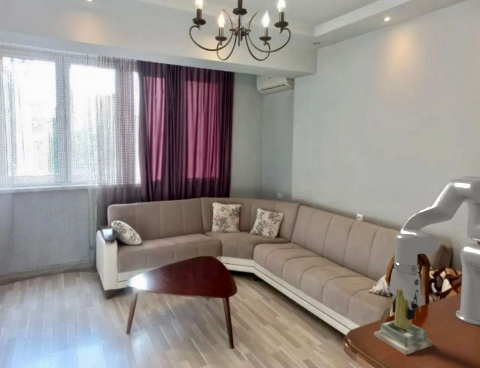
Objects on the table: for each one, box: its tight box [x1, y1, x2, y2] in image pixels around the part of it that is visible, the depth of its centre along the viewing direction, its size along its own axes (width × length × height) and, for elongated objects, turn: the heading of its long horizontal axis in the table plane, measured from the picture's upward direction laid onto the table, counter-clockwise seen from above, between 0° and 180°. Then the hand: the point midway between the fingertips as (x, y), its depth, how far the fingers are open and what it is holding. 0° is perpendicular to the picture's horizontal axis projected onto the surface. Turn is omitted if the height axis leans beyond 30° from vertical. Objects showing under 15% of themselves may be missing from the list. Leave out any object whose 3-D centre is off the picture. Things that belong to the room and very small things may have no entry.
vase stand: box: [373, 319, 434, 356], centre depth 128 cm, size 14×14×5 cm
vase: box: [394, 288, 413, 329], centre depth 127 cm, size 6×6×14 cm
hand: (403, 314), depth 127 cm, fingers closed on vase, 5 cm apart
